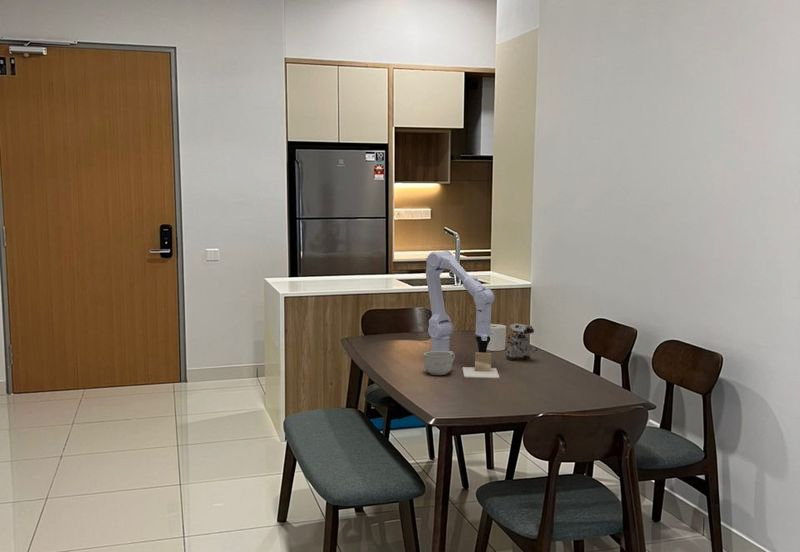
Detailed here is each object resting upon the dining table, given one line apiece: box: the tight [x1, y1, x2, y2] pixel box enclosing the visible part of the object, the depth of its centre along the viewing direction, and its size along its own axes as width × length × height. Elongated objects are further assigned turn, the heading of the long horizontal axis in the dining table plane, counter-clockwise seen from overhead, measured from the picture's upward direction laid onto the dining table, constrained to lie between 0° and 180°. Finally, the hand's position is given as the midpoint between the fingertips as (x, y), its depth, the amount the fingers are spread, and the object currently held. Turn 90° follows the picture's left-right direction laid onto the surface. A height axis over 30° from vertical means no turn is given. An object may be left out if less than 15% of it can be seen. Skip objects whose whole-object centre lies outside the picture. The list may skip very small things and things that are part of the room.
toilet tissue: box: [486, 323, 507, 352], centre depth 335 cm, size 11×12×10 cm
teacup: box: [423, 350, 456, 376], centre depth 290 cm, size 14×11×8 cm
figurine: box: [505, 322, 538, 361], centre depth 313 cm, size 9×12×15 cm
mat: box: [462, 366, 500, 379], centre depth 292 cm, size 14×13×1 cm
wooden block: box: [474, 351, 492, 372], centre depth 293 cm, size 2×6×7 cm, turn 88°
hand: (482, 355), depth 299 cm, fingers closed
